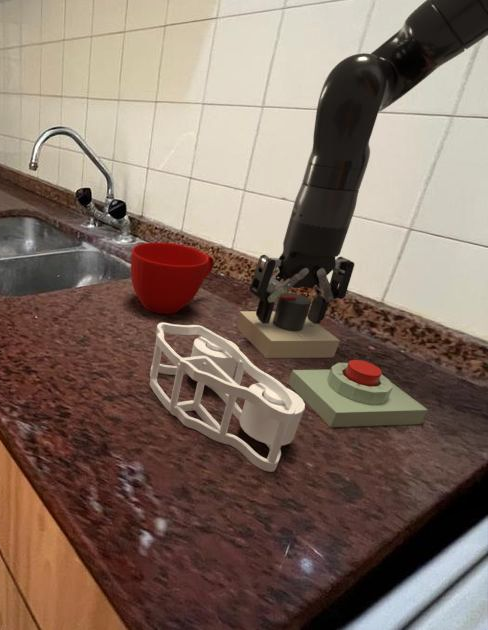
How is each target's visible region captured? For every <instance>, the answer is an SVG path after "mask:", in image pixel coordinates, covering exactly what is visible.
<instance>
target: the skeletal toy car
mask: <svg viewBox="0 0 488 630" xmlns="http://www.w3.org/2000/svg"><path fill="white" fill-rule="evenodd" d="M165 333H167V334H171V335H184V336H193V335H196V336H198V337H197V338H195V339H194V340H193V343H192V344H193V345H192V349H191V352H190V356H187V357H182V356H181V355H180V354H178V353H177V352H176V351H175V350H174V349H173V347H171V346H170V345H169V343H168V342H167V341H166V340H165ZM155 335H156V337H155V344H154V350H153V355H152V360H151V367H150V371H149V377H150V378H149V379H150V381H149V387H150V389H151V390H152V392H153V393H154V394H155V396H156V397H157V399H158V400H159V402H160V403H161V404H162V406H163V407H164V408H165V409H166V410H167V411H169V413H170V415H172V416H175V417H176V418H177V419H178V421H180V422H181V423H182V425H183V426H185V427H187V428H189V429H193V430H195V431H197V432H199V433H200V434H202V435H204V436H205V437H207V438H208V439H210V440H213V441H215V442H217V443H220V444H224V445H228V446H231V447H233V448H234V449H236V450H237V451H239V452H240V453H241V454H242V455H243V456H244V457H245V458H246V459H247V460H248V461H249V462H250V463H251V464H252V465H254V466H255V467H257V468H259V469H260V470H262V471H265V472H270V473H274V472H275V471H276V469H277V468H278V467H277V466H278V464H279V461H280V459H281V456H282V451H281V448H282V446H287V445H289V444H291V443H292V442H293V441H294V439H295V436H296V434H297V430H298V428H299V425H300V423H301V419H302V417H303V413H304V412H305V408H306V402H305V400H304V399H303V398H302V397H301V396H300V395H299V394H298V393H297V392H296V391H293V390H292V389H291V388H287V387H286V386H285V385H284V384H282V382H281V381H279V380H278V379H276V378H275V377H273V376H271V374H269V373H266V372H265V371H263V370H262V369H260V368H259V367H257V366H256V365H255V364H254V363H252V361H250V359H249V358H248V357H247V356H246V354H244V353H243V352H242V351H241V350H240V347H239V346H238V345H237V344H236V343H234V342H233V341H231V340H229V339H226V338H224V337H222V336H221V335H218V334H217V333H215V332H213V331H212V330H210V329H209V328H207V327H205V326H202V325H199V324H190V325H189V324H188V325H186V324H174V323H169V322H163V321H161V322H158V324H157V326H156V331H155ZM162 353H163V354H164V356H166V358H167V359H168V360H169V361H170V362H171V364H173V365H168V364H163V363H161V358H162ZM245 372H246V373H247V375H249V376H250V377H251V378H252V379H254V380H256V381H257V382H256V383H252V384H250V385H249V387H246V386H243V385H241V384H242V379H243V376H244V373H245ZM159 374H161V375H162V374H163V375H169V376H174V382H173V388H172V392H171V396H170V397H169V396H168V395H167V394H166V393H165V391H164V390H163V388H162V387H161V386H160V384H159V383H158V375H159ZM185 375H188V376H189V377H190V378H191V379H192V380H193V381H195V382H197V383H196V387H195V393H194V396H193V400H184V401H179V397H180V392H181V387H182V383H183V378H184V376H185ZM233 378H234V379H233ZM205 386H206V387H207V388H209V389H211V390H212V391H213V392H215V393H216V394H217V396H219V398H220V399H221V400H222V401H223V402H224V403H225V407H224V411H223V414H222V419H221V422H220V424H219V422H218V421H217V420H216V419H215V418H214V417H213V416H212V415H211V413H210V412H208V410H207V409H206V408H205V407H204V406H203V405H202V403H201V402H202V397H203V393H204V390H205V389H204V388H205ZM237 398H239V399H241V400H242V399H243V400H244V403H243V407H242V408H241V407H240V406H239V405H238V403H237ZM178 401H179V402H178ZM187 412H195V413H196V414H197V415H198V416H199V418H200V419H201V420H200V419H198V418H195V417H192V416H190V415H188V414H187ZM232 416H234V417H235V418H236V419H237V420H238V422H239V425H240V428H241V429H242V430H243V432H244V433H245V434H247V435H248V436H249V437H250V438H252V439H254V440H255V441H257V442H259V443H264V444H265V445H266V446H267V448H268V449H269V452H268V455H267V458H266V457H263V456H262V455H261V454H259V453H258V452H256V451H255V450H254V448H252V447H251V446H250V445H249V444H248V443H247V442H246V441H244V440H243V439H242V438H240V437H239V436H236V435H234V434H232V433H228V430H229V427H230V424H231V423H230V422H231V419H232Z"/></svg>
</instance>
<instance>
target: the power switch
mask: <svg viewBox="0 0 488 630" xmlns="http://www.w3.org/2000/svg"><path fill="white" fill-rule="evenodd" d="M348 363H349V362H337V363H336V364H334V365H332V366H331V368H330V369H292V370H291V373H290V376H289V379H288V381H287V384H288V385H289V386H290V387H291V388H292V389H293V390H294V392H295V393H296V394H298V395H299V396H300V397H301V398H302V399H303V401H304V402H305V404H307V405H308V406H309V407H310V408H311V409H312V410H313V411H314V412H315V413H316V414H317V415H318V416H319V417H320V418H321V419H322V420H323V421H324V422H325V424H327V425H328V426H329V428H346V427H348V428H349V427H351V428H352V427H377V426H406V425H408V426H409V425H421V424H422V423H423V421H424V419H425V416H426V415H427V413H428V408H427V407H425V406H424V405H422V404H421V403H419V401H417V400H415V399H414V398H413V397H412V396H411V395H409V394H407V393H406V392H405V391H404V390H402V389H401V388H400V387H398V386H397V385H396V384H394V383H393V382H392V381H391V380H390V379H389V378H388V377H386V376H384V375H383V373H382V374H381V377H380V379H379V381H378V384H377V386H371V387H369V386H364V385H360V384H357V383H355V382H353V381H351V380H349V379H348V378H347V377H345V376H344V373H345V370H346V368H347V365H348Z"/></svg>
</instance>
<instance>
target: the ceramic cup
mask: <svg viewBox="0 0 488 630" xmlns="http://www.w3.org/2000/svg"><path fill="white" fill-rule="evenodd" d="M130 257H131V258H130V279H131V284H132V287H133V291H134V293H135V295H136V296H137V299H138V300H139V301H140V302H141V304H142V306H143V307H144V308H145V309H146V310H148V311H149V312H152V313H153V312H154V313H156V314H165V315H171V314H176V313H178V312H179V311H180V310H182V309H183V308H184V307H186V306H187V305H188V304H189V303H190V302H192V301H193V299H194V298H195V297H196V295H197V293H198V292H199V290H200V288H201V286H202V284H203V282H204V280H205V279H207V277H208V276H209V275H210V273H212V271H213V268H214V265H215V260H214V257H213V256H212V255H210V254H206V253H204V252H203V251H201V250H199V249H196V248H194V247H190V246H187V245H182V244H177V243H170V242H145V243H140V244H137V245H135V246H134V247H133V248H132V251H131V256H130Z"/></svg>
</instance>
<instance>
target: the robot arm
mask: <svg viewBox="0 0 488 630" xmlns="http://www.w3.org/2000/svg"><path fill="white" fill-rule="evenodd" d="M486 37H488V0H425V1H424V2H422V3H421V4H420V5H419V6H418V7H417V8H416V9H414V10H413V11H412V12H411V13H410V14H409V15H408V16H407V18H406V19H405V21H404V23H403V25H402V26H401V28H400V29H399V30H398V31H396V33H394V34H393V35H392V36H391V37H390V38H388V39H387V40H386V41H384V42H383V43H382V44H381V45H379V46H378V47H377V48H376V49H374V50H373V51H372V52H371V53H365V52H363V53H362V52H361V53H357V54H353V55H349V56H348V57H345V58H344V59H342V60H341V61H339V62H338V63H337V64H336V65H335V66H334V67H333V68H332V69H331V71H330V72H329V73H328V75H327V77H326V78H325V80H324V82H323V84H322V87H321V90H320V94H319V97H318V102H317V106H316V113H315V120H314V128H313V138H312V139H313V140H312V147H311V151H310V155H309V157H308V159H307V163H306V167H305V169H304V170H305V171H304V174H303V178H302V181H301V185H300V187H299V190H298V192H297V194H296V197H295V199H294V202H293V207H292V209H291V214H290V217H289V221H288V224H287V228H286V231H285V235H284V239H283V242H282V246H283V247H282V253H281V254H280V256H279V257H269V256H268V255H266V254H262V255H260V256H259V258H258V260H257V264H256V267H255V271H254V273H253V276H252V280H251V283H250V285H249V291H250V292H251V293H252V294H253V295H254V296H256V297H257V299H259V301H258V305H257V309H256V311H257V312H256V316H257V317H258V319H259V320H260V321H261V322H262V323H263V324H268V323H269V322H270V318H271V315H272V312H274V311H273V310H274V306H275V304H276V302H275V301H276V300H277V299H279V297H280V295H281V294H283V293H288V291H290V290H291V289H292V288H294V289H300V288H306V289H313V290H314V293H315V295H316V297H313V299H312V301H311V305H310V308H309V311H308V314H307V316H308V320H309V321H311V322H312V323H313V324H318V325H320V324H321V321H323V320H324V318H325V316H326V314H327V310H328V308H329V304H330V303H332V302H333V301H334V300H336V299H338V300H343V299H344V298H345V297H346V295H347V292H348V288H349V284H350V281H351V279H352V274H353V272H354V269H355V262H354V261H352V260H350V259H348V258H346V257H343V256H339V255H340V254H341V252H342V249H343V246H344V243H345V240H346V238H347V234H348V231H349V228H350V225H351V223H352V219H353V216H354V214H355V211H356V206H357V202H358V198H359V197H358V196H359V193H360V192H359V191H360V188H361V185H362V183H363V180H364V177H365V174H366V171H367V169H368V164H369V161H370V157H371V146H370V140H371V136H372V134H373V130H374V128H375V124H376V121H377V117H378V114H379V113H380V112H382V111H384V110H385V109H387V108H388V107H390V106H391V105H393V104H394V103H395V102H397V101H398V100H399V99H401V98H403V97H404V96H405V95H406V94H407V93H409V92H410V91H411V90H412V89H414V88H416V86H418V84H420V83H422V82H423V81H424V80H425V79H426V78H427V77H429V76H430V75H431V74H432V73H434V72H435V71H436V70H437V69H438V68H440V67H441V66H443V65H444V64H446V63H448V62H449V61H451V60H453V59H454V58H456V57H458V56H459V55H461V54H463V53H464V52H465V51H466V50H469V49H470V48H472V47H473V46H474V45H476V44H477V43H479V42H481V41H482V40H483V39H485V38H486ZM277 268H278V270H277ZM331 272H332V274H331V277H330V280H329V279H328V277H327V276H328V275H329V274H330V273H331ZM273 273H274V274H273ZM282 280H283V282H281V281H282Z"/></svg>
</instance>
